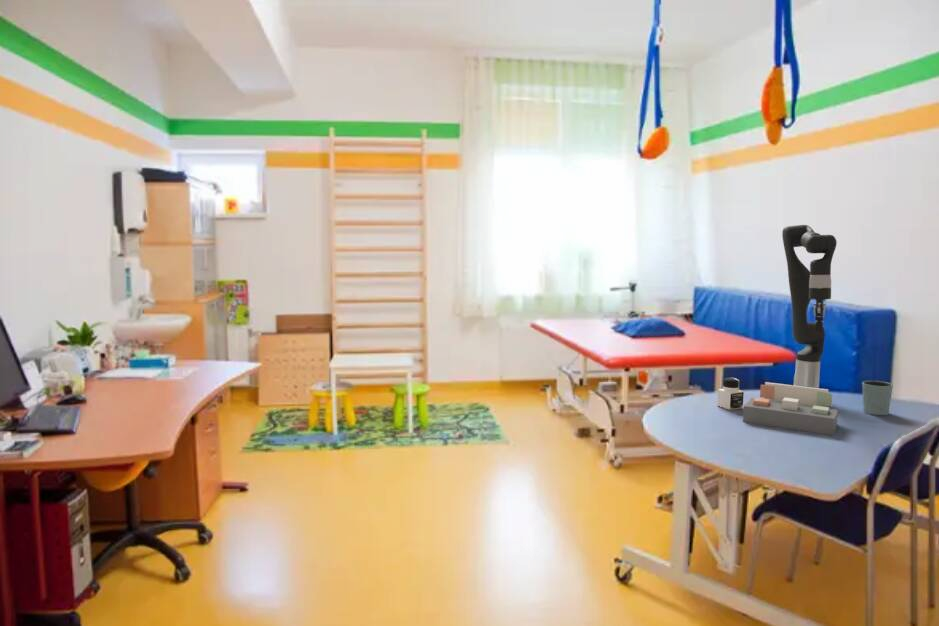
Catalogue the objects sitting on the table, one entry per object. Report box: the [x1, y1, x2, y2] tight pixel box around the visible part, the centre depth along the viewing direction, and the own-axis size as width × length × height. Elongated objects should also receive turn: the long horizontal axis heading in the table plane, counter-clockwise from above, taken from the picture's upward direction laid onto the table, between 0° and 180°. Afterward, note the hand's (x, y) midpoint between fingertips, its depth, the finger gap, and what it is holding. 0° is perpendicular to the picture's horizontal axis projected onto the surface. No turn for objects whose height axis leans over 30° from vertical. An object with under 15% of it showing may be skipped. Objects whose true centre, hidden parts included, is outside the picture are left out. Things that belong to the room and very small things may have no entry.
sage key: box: [812, 406, 830, 415], centre depth 237 cm, size 5×5×4 cm
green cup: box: [861, 380, 893, 416], centre depth 256 cm, size 10×10×12 cm
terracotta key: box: [753, 397, 770, 407], centre depth 248 cm, size 5×5×4 cm
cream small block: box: [782, 398, 799, 411], centre depth 242 cm, size 5×5×4 cm
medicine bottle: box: [716, 377, 745, 411], centre depth 265 cm, size 7×7×12 cm
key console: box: [742, 381, 839, 436], centre depth 244 cm, size 30×19×12 cm, turn 55°
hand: (819, 331), depth 250 cm, fingers closed
